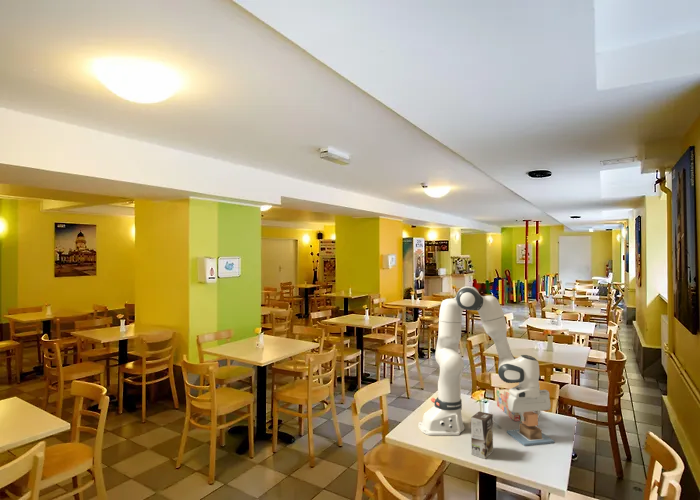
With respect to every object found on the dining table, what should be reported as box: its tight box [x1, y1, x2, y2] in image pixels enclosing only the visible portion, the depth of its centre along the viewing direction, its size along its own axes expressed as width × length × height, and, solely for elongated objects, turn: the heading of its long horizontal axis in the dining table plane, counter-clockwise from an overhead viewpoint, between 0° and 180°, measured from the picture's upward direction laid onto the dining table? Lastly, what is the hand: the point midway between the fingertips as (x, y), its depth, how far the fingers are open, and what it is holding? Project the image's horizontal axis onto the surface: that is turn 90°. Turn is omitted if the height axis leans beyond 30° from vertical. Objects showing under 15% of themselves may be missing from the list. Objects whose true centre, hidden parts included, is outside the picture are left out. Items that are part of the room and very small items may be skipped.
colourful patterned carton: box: [496, 388, 522, 422], centre depth 217 cm, size 21×6×12 cm, turn 4°
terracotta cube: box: [521, 411, 539, 427], centre depth 188 cm, size 5×5×5 cm
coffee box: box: [470, 411, 494, 460], centre depth 174 cm, size 9×6×16 cm
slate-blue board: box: [506, 428, 555, 447], centre depth 188 cm, size 15×14×1 cm
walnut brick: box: [519, 423, 543, 440], centre depth 188 cm, size 6×8×4 cm
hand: (529, 420), depth 188 cm, fingers closed on terracotta cube, 5 cm apart
